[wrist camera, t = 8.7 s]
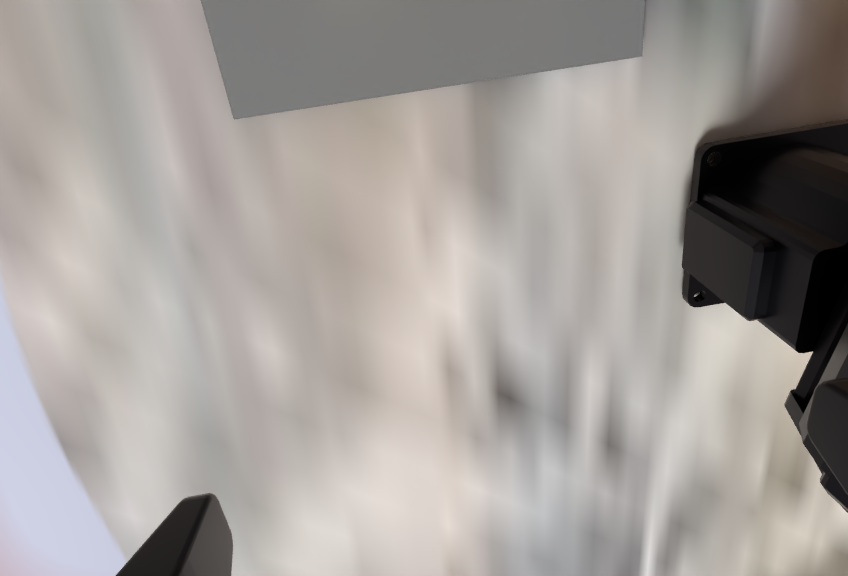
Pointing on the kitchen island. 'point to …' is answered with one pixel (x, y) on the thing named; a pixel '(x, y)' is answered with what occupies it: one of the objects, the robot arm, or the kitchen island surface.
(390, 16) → the mat
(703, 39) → the kitchen island surface
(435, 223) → the kitchen island surface
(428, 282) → the kitchen island surface
